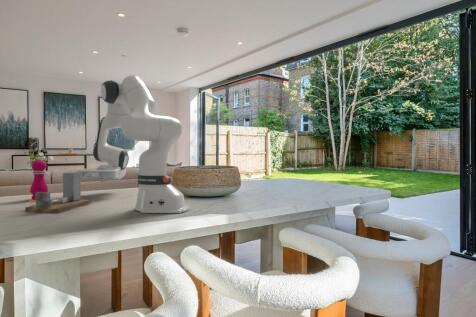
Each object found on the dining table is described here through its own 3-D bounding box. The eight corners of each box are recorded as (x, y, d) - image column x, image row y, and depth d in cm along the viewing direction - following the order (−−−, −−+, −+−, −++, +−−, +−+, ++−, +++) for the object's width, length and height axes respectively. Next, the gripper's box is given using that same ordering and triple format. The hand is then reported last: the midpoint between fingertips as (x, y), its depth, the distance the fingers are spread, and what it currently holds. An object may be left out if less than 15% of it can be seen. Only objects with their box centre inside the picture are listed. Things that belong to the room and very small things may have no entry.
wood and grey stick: (51, 206, 130) (51, 199, 130) (49, 206, 129) (49, 200, 128) (31, 205, 131) (31, 199, 131) (28, 205, 130) (28, 199, 130)
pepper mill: (39, 201, 151) (39, 157, 150) (26, 200, 152) (26, 157, 152) (51, 198, 158) (51, 156, 157) (38, 197, 160) (38, 156, 159)
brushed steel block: (80, 199, 147) (80, 172, 146) (66, 203, 137) (66, 174, 136) (70, 198, 148) (70, 172, 147) (55, 202, 138) (55, 173, 137)
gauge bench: (91, 203, 147) (91, 186, 147) (58, 213, 126) (58, 193, 125) (62, 202, 149) (62, 185, 149) (25, 211, 128) (25, 192, 127)
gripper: (86, 167, 172) (69, 168, 158) (123, 167, 169) (109, 168, 155) (86, 179, 172) (69, 181, 158) (123, 179, 169) (109, 181, 155)
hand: (89, 174), depth 157 cm, fingers closed
